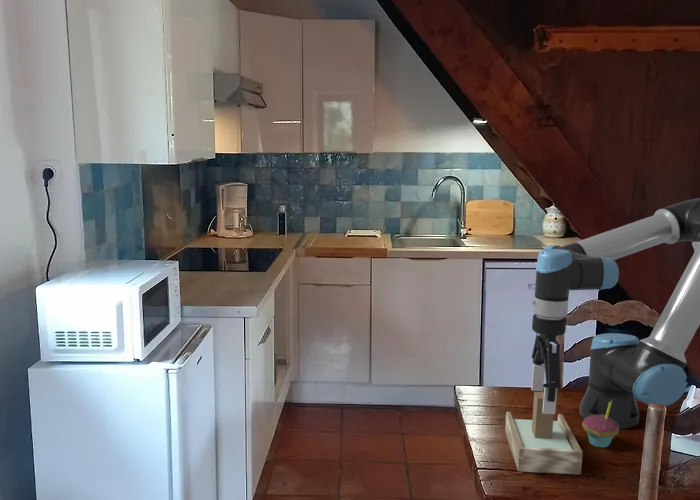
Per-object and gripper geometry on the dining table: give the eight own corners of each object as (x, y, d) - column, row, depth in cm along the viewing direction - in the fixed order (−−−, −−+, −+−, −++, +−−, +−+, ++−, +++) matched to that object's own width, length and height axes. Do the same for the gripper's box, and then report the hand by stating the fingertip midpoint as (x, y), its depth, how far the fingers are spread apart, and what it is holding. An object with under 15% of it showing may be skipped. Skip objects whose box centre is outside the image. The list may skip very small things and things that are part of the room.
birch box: (560, 434, 170) (562, 414, 169) (580, 474, 151) (582, 452, 150) (505, 431, 171) (506, 411, 170) (518, 471, 152) (519, 449, 151)
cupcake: (618, 439, 168) (622, 394, 166) (616, 454, 160) (620, 407, 158) (582, 432, 171) (586, 389, 169) (579, 447, 164) (582, 401, 161)
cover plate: (557, 426, 168) (560, 383, 166) (572, 457, 152) (576, 410, 150) (512, 424, 169) (515, 381, 167) (523, 455, 153) (527, 408, 151)
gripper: (523, 301, 167) (517, 381, 171) (544, 330, 143) (536, 423, 147) (554, 302, 167) (547, 382, 171) (580, 332, 142) (571, 425, 146)
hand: (542, 401), depth 159 cm, fingers open, 13 cm apart
